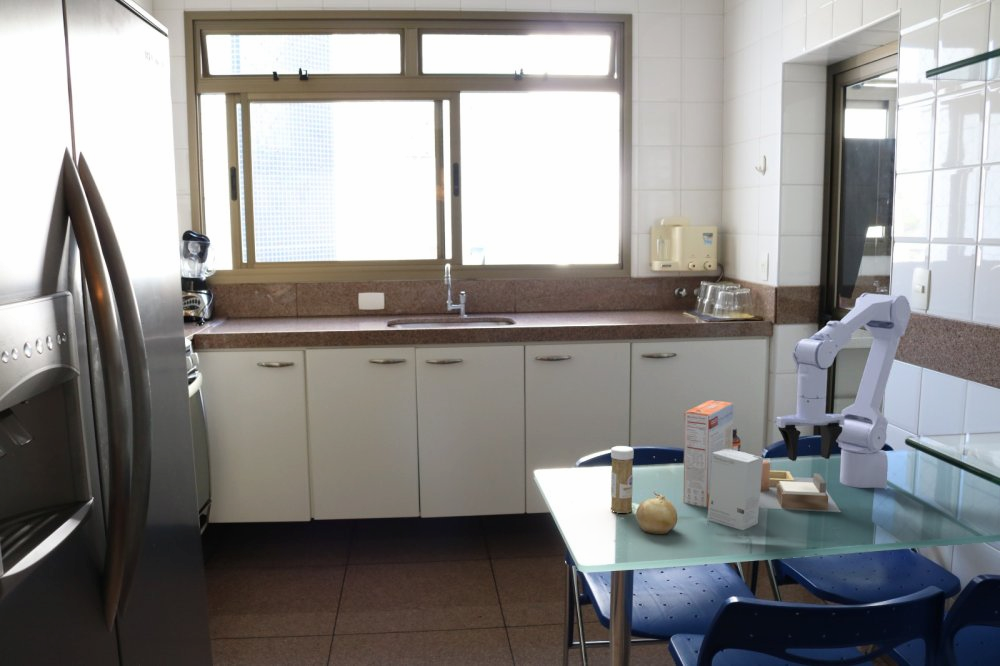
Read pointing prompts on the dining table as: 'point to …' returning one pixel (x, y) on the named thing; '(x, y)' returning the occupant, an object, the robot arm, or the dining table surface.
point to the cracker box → (704, 446)
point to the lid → (805, 486)
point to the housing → (801, 500)
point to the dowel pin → (765, 476)
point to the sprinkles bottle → (621, 479)
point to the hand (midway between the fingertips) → (808, 458)
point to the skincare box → (735, 488)
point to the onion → (656, 515)
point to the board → (769, 496)
